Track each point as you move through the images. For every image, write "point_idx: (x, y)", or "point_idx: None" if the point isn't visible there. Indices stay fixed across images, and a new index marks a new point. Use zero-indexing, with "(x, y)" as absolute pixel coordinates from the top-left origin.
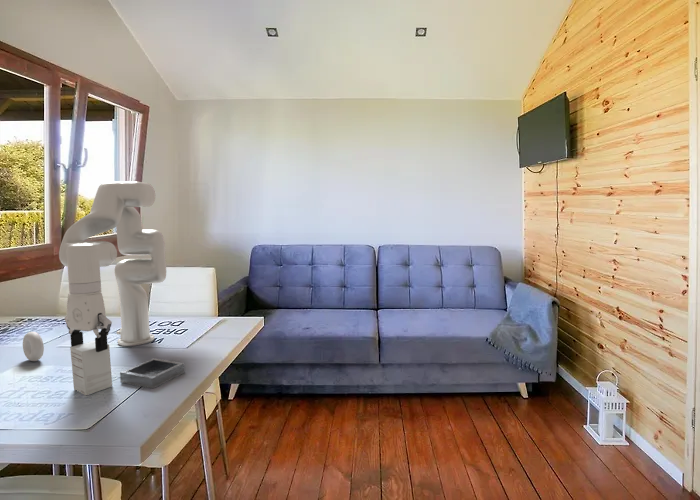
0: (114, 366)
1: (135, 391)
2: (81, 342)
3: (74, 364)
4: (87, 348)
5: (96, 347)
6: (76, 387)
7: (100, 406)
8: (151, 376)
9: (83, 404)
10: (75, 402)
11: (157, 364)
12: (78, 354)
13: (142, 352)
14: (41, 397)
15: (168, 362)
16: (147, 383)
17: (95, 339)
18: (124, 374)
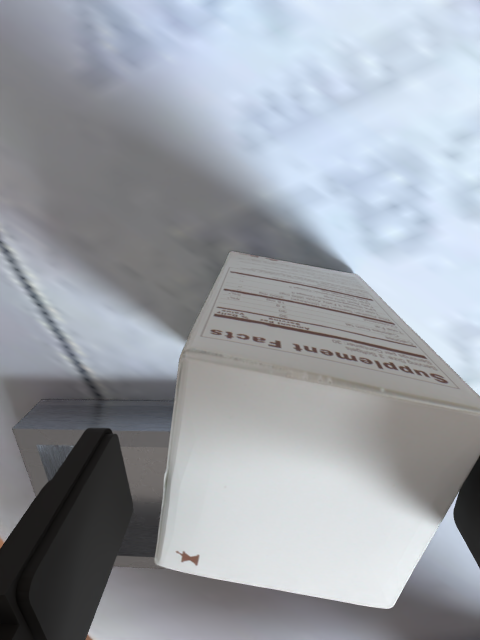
0: None
1: (76, 360)
2: (474, 537)
3: (361, 319)
4: (226, 441)
5: (68, 461)
6: (327, 271)
7: (55, 198)
8: (37, 442)
9: (148, 178)
10: (208, 177)
11: None
12: (272, 345)
13: (410, 611)
14: (450, 138)
15: (124, 555)
16: (56, 410)
17: (11, 566)
18: None
